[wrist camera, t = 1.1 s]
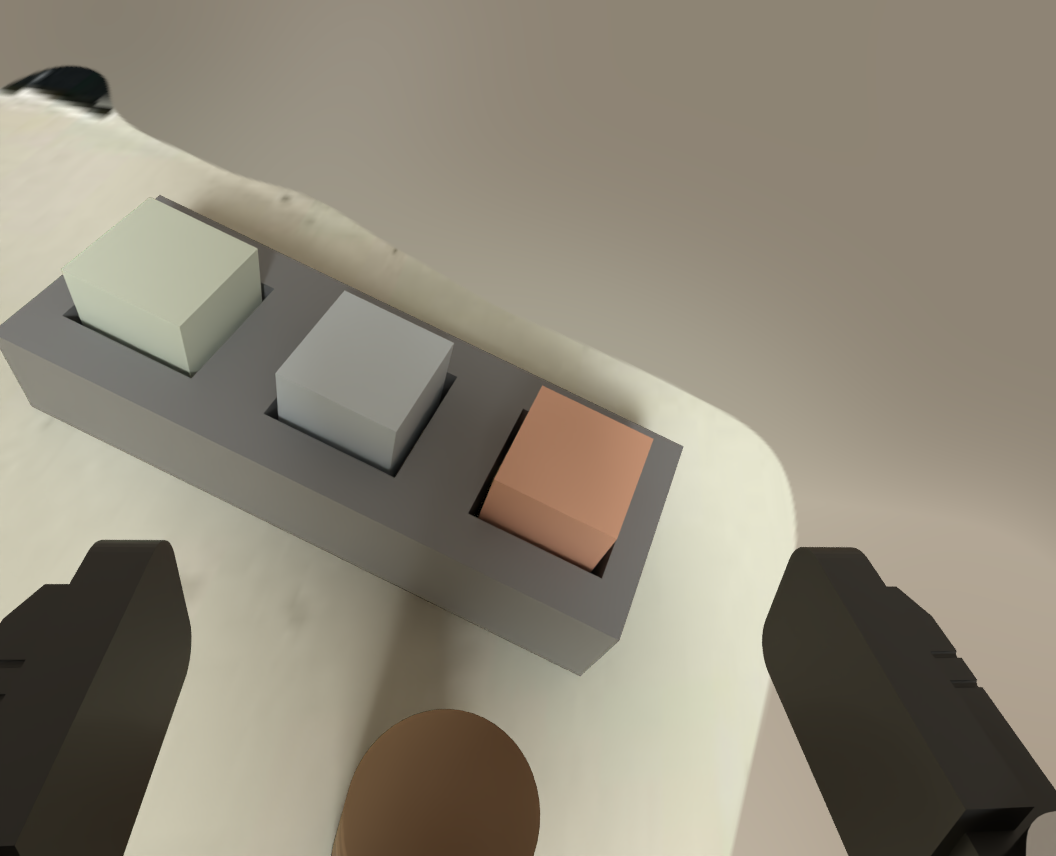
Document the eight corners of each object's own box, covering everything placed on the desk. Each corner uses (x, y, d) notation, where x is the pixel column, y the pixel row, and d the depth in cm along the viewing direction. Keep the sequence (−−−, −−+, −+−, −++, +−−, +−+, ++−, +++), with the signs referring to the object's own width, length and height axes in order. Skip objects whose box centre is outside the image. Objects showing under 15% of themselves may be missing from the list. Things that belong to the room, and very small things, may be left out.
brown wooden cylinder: (308, 892, 25) (303, 873, 14) (365, 776, 28) (402, 677, 16) (412, 946, 25) (494, 970, 14) (462, 824, 27) (566, 759, 16)
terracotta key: (472, 531, 31) (493, 479, 27) (517, 443, 34) (542, 385, 30) (581, 584, 31) (617, 539, 27) (616, 490, 34) (653, 439, 30)
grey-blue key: (279, 437, 31) (275, 373, 27) (341, 357, 34) (344, 290, 30) (386, 489, 31) (396, 432, 27) (439, 405, 34) (453, 342, 30)
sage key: (90, 344, 31) (60, 269, 28) (167, 273, 34) (149, 196, 31) (195, 395, 31) (179, 326, 27) (263, 320, 34) (257, 248, 30)
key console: (31, 406, 32) (-9, 332, 28) (176, 272, 38) (159, 194, 34) (580, 676, 32) (619, 640, 28) (643, 497, 37) (683, 446, 33)
